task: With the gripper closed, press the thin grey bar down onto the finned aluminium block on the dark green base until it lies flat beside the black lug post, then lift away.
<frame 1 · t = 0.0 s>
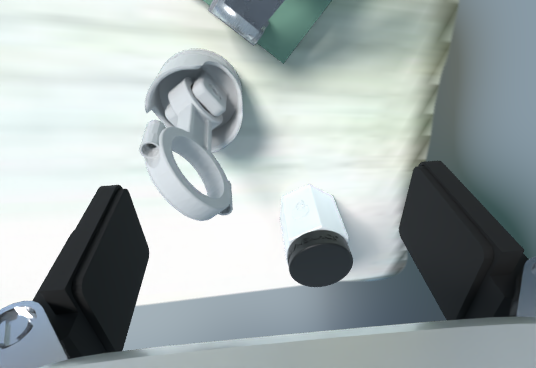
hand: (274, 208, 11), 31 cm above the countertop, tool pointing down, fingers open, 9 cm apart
jar: (305, 205, 52), on the countertop
engine component: (202, 94, 41), on the countertop
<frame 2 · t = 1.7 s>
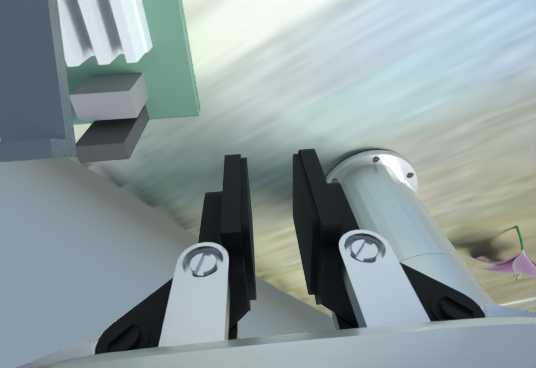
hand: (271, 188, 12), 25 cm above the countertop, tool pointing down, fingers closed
lily: (499, 244, 53), on the countertop
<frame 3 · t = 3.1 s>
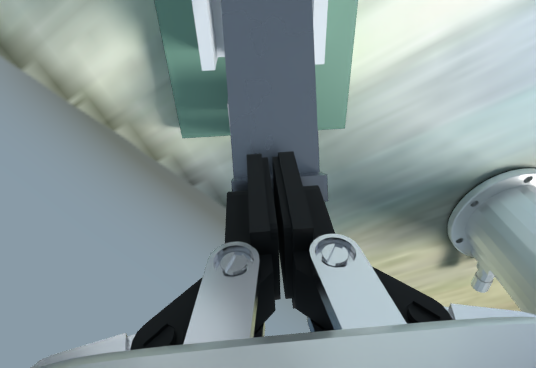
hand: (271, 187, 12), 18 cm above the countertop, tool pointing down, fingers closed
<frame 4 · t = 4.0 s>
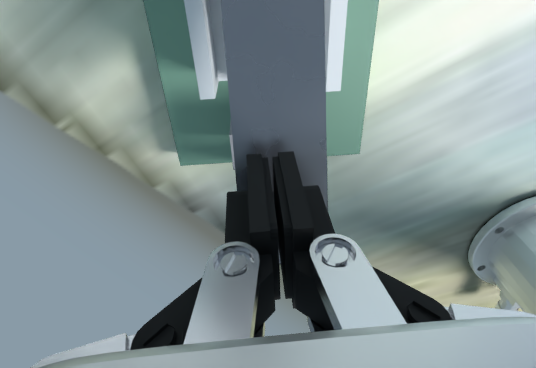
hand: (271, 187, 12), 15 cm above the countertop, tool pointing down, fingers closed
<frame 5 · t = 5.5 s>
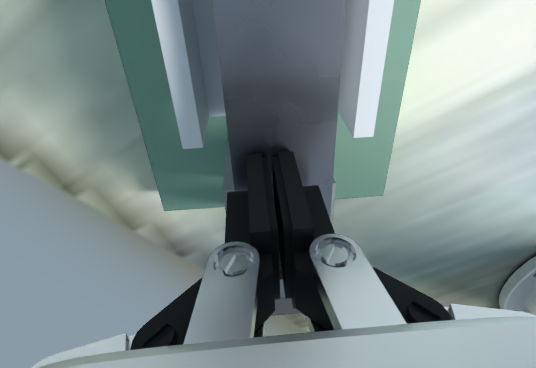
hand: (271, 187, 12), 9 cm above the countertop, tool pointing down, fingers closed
thin grey bar: (280, 19, 9), point 9 cm above the countertop, hinge at 2.5°, touching gripper
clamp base: (264, 5, 17), on the countertop
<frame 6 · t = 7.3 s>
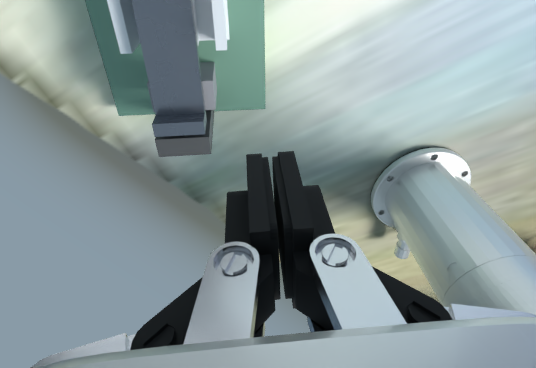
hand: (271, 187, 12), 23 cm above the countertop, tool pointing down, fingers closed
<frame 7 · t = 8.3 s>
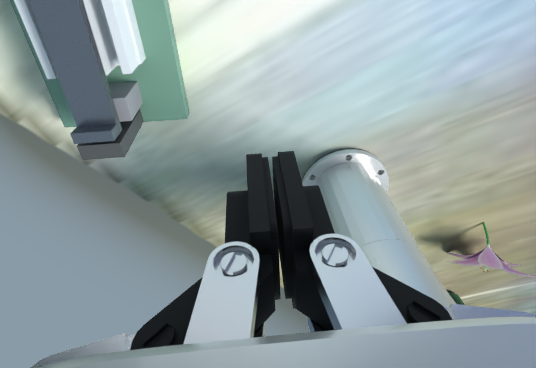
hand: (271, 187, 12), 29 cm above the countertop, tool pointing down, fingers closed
thin grey bar: (61, 23, 27), point 9 cm above the countertop, hinge at 2.4°
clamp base: (100, 15, 34), on the countertop
lily: (469, 239, 58), on the countertop
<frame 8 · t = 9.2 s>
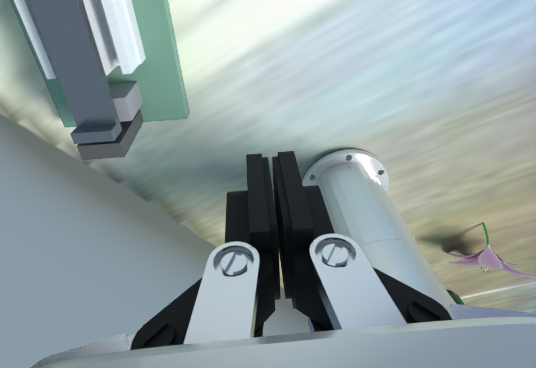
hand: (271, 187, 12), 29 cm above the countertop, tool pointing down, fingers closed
thin grey bar: (61, 23, 27), point 9 cm above the countertop, hinge at 2.4°
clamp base: (100, 15, 34), on the countertop
lily: (469, 240, 58), on the countertop
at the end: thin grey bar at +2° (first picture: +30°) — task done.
